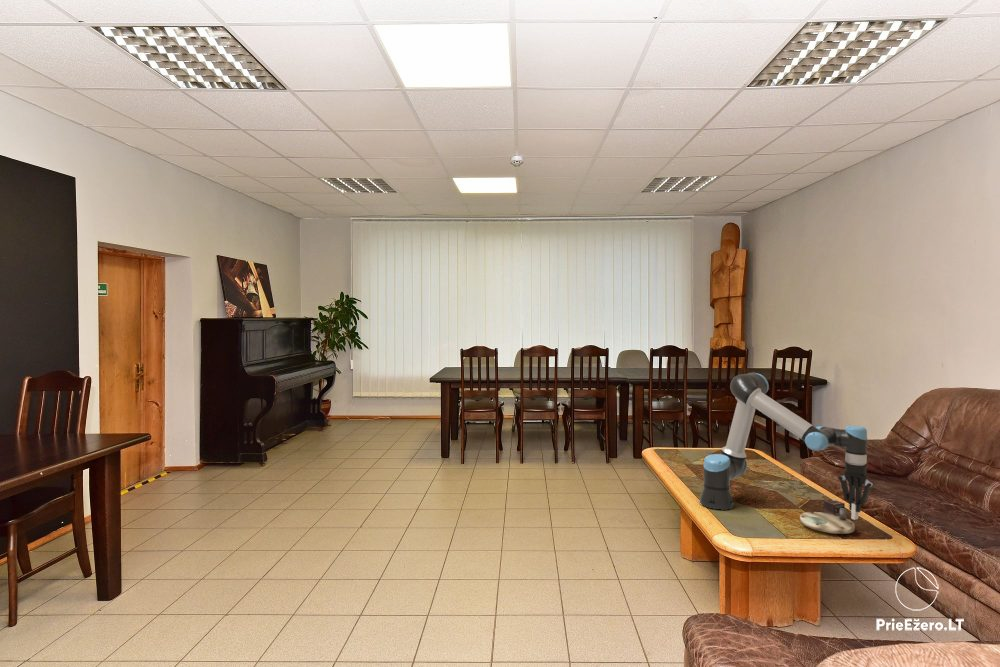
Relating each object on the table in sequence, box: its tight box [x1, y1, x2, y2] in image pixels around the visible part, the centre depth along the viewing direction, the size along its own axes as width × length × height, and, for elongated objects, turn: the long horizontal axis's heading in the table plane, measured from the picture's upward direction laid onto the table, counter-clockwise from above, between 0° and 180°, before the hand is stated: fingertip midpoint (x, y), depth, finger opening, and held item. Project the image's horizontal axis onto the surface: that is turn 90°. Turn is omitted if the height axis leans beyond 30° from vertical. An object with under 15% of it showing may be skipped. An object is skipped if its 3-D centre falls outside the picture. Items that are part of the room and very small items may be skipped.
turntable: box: [799, 508, 856, 535], centre depth 232 cm, size 20×20×6 cm
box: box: [822, 499, 846, 516], centre depth 244 cm, size 6×6×7 cm
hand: (854, 518), depth 229 cm, fingers closed
